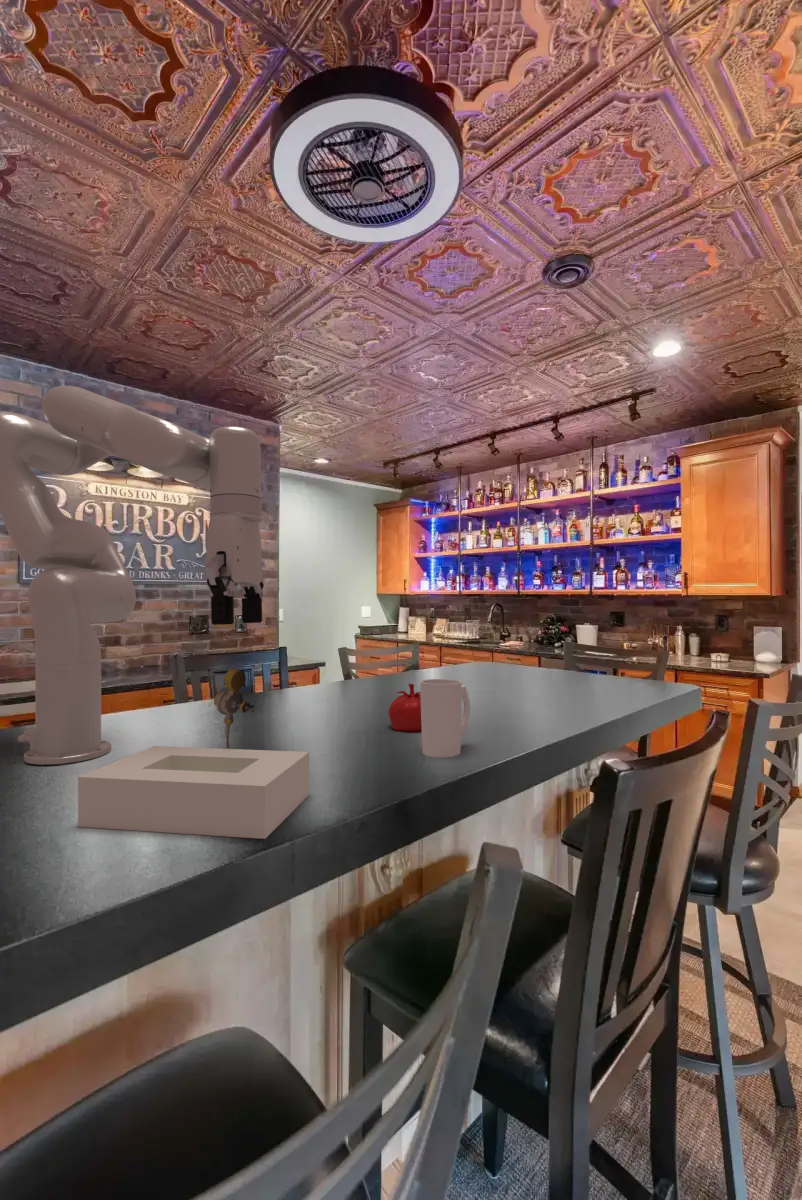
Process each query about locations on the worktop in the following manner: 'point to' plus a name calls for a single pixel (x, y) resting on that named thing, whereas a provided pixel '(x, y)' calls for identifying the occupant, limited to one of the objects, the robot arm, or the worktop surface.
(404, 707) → the pomegranate
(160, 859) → the worktop surface
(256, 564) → the robot arm
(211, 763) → the stand
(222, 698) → the regulator
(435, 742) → the mug
